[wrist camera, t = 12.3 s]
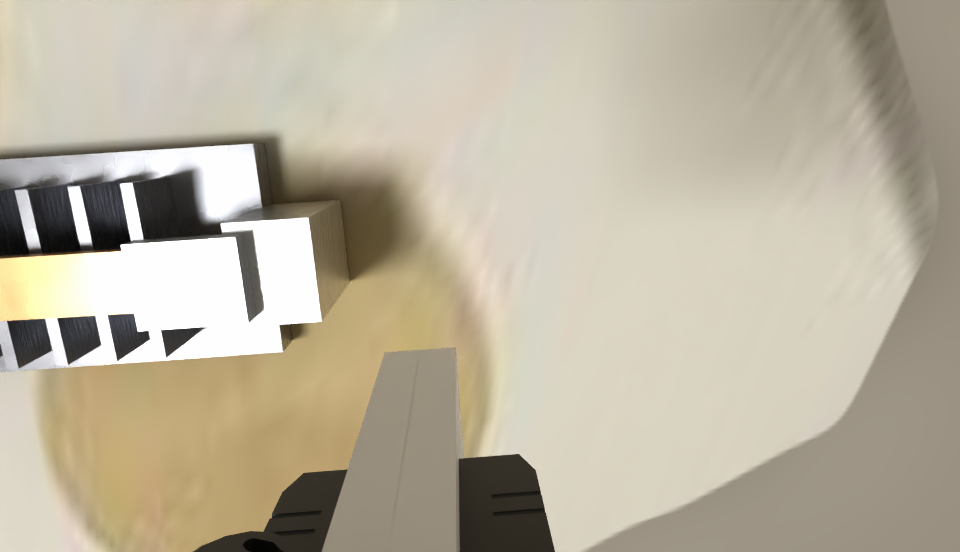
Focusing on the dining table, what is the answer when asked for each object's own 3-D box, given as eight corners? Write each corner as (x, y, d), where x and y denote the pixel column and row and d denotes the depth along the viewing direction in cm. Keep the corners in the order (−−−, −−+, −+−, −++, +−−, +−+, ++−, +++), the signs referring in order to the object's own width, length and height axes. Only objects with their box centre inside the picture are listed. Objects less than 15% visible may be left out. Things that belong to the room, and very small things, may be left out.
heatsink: (-91, 165, 34) (-226, 173, 28) (264, 143, 35) (217, 145, 28) (-37, 363, 37) (-147, 415, 30) (291, 340, 38) (255, 386, 31)
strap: (-133, 252, 29) (-167, 259, 28) (201, 232, 29) (185, 237, 28) (-109, 331, 30) (-141, 341, 29) (214, 311, 30) (200, 322, 28)
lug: (202, 208, 35) (118, 233, 26) (340, 199, 36) (302, 221, 27) (216, 291, 36) (140, 341, 28) (349, 282, 37) (316, 329, 28)
